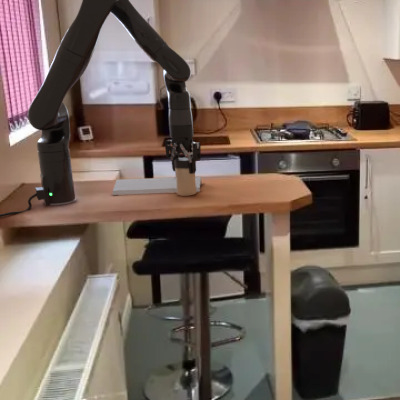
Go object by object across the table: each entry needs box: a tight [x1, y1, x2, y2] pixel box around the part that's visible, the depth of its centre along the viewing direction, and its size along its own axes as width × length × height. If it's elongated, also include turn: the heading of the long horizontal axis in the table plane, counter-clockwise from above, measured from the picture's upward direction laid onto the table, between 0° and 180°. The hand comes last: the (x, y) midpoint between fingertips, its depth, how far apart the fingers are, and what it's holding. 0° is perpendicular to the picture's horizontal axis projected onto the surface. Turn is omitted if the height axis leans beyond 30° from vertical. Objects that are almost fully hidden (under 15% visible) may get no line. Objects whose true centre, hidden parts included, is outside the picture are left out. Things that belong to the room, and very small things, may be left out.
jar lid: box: [174, 157, 190, 168], centre depth 199 cm, size 7×7×2 cm
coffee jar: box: [174, 167, 197, 197], centre depth 200 cm, size 6×6×11 cm
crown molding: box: [111, 176, 203, 197], centre depth 209 cm, size 29×12×4 cm, turn 97°
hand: (184, 172), depth 199 cm, fingers closed on jar lid, 6 cm apart
